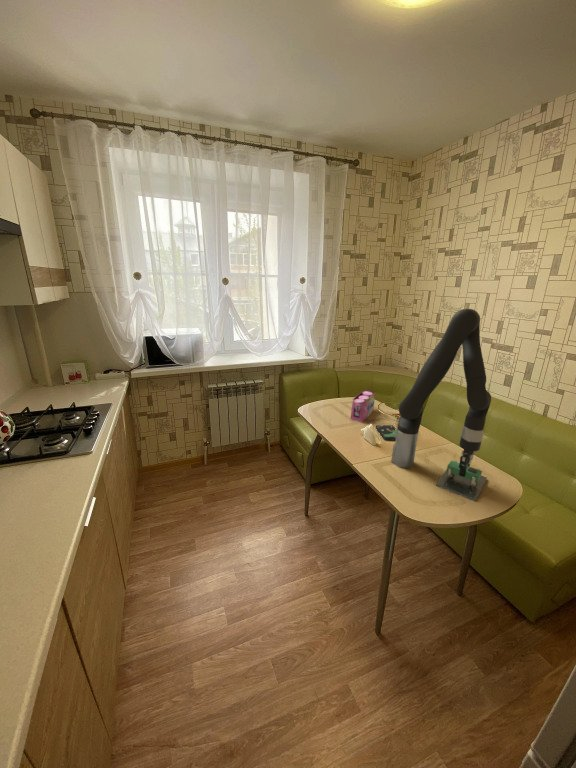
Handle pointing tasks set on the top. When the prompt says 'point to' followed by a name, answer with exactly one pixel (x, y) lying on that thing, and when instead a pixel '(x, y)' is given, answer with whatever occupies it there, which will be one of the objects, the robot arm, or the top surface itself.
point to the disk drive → (387, 432)
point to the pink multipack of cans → (362, 405)
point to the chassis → (461, 484)
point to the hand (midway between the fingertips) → (463, 472)
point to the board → (469, 471)
